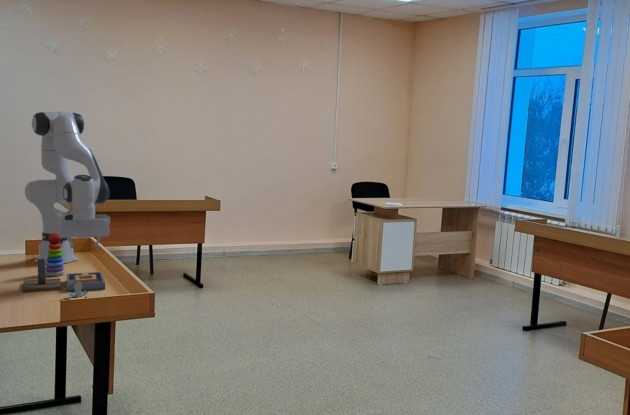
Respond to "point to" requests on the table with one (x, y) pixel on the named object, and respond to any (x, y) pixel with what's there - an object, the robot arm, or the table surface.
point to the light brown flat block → (85, 278)
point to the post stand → (41, 281)
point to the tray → (86, 286)
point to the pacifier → (77, 291)
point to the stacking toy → (54, 257)
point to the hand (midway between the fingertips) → (84, 247)
